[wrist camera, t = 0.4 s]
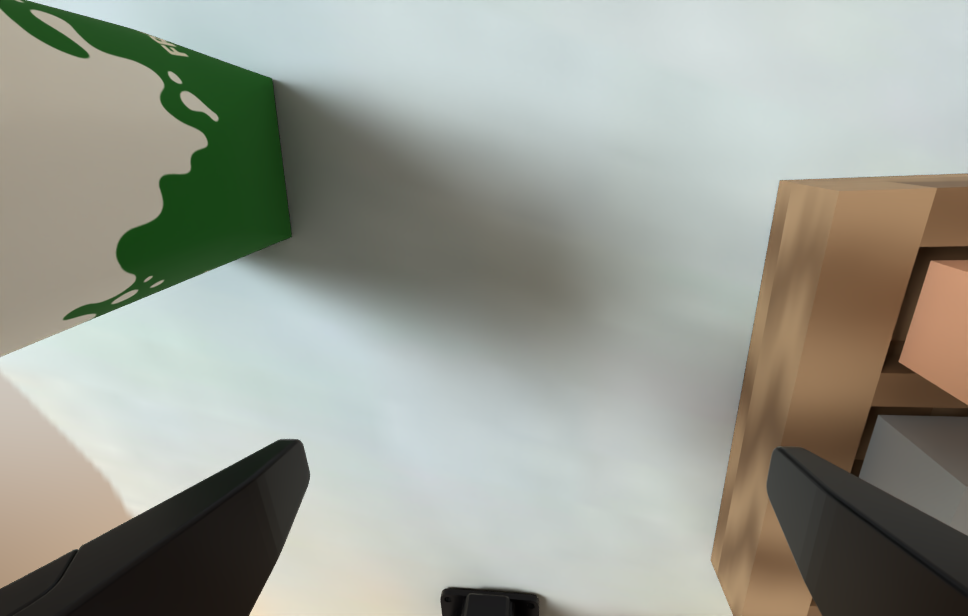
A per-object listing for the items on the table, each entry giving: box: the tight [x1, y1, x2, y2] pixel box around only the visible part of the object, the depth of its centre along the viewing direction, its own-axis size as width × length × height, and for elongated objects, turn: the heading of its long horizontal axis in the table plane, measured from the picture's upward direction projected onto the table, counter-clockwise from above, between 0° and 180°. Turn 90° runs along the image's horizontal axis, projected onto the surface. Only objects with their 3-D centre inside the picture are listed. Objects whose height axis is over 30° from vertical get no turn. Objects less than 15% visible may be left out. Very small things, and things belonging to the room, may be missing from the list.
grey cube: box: [859, 415, 968, 535], centre depth 17 cm, size 4×4×4 cm
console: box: [711, 174, 968, 616], centre depth 20 cm, size 22×11×4 cm, turn 3°
